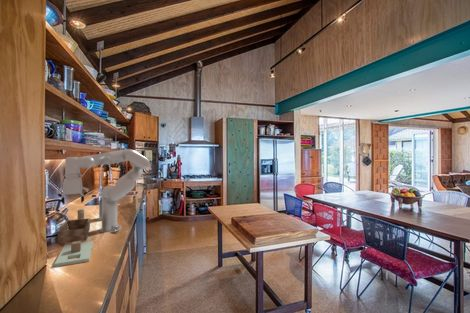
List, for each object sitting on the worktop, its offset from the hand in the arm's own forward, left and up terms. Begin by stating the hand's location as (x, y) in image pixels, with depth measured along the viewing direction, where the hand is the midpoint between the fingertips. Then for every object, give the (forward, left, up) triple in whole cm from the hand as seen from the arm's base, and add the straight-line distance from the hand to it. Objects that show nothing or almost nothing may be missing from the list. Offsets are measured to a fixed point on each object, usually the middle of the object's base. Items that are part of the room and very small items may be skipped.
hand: (73, 203), depth 147 cm
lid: (-22, +19, -22) cm, 37 cm away
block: (+11, -18, -22) cm, 31 cm away
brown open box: (0, -3, -22) cm, 22 cm away
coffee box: (+13, -43, -23) cm, 50 cm away
